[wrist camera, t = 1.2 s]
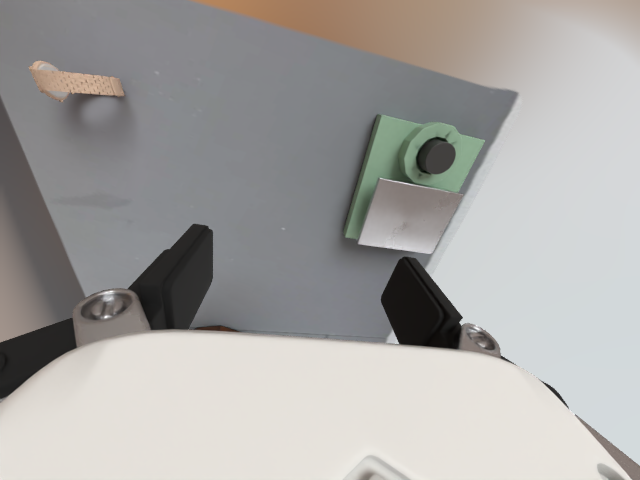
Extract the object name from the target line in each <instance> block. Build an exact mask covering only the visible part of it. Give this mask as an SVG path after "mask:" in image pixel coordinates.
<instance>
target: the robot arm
mask: <svg viewBox="0 0 640 480" xmlns="http://www.w3.org/2000/svg"><path fill="white" fill-rule="evenodd" d="M212 279H213V231H212V230H211V229H209V228H208V226H206V225H199V224H193V225H192V226H191V227H190V228H189V229H188V230H187V231H186V232H185V233H184V234H183V235H182V237H181V238H180V239H179V240H178V241H177V242H176V243H175V244H174V245H173V246H172V247H171V248H170V249H167V250H165V251H163V252H162V253H161V254H160V255H159V256H158V257H157V259H156V260H155V261H154V262H153V263H152V264H151V265H150V266H149V267H148V268H147V269H146V270H145V271H144V272H143V273H142V274H141V275H140V276H139V277H138V278H137V280H136V281H135V282H134V283H133V284H132V285H131V286H130V287H129V288H128V289H123V288H117V289H108V290H103V291H100V292H97V293H94V294H92V295H90V296H88V297H86V298H85V299H83V300H82V301H81V302H80V303H78V304H77V306H76V307H75V308H74V310H73V315H72V317H73V318H70V319H67V320H64V321H61V322H58V323H55V324H53V325H50V326H47V327H44V328H41V329H38V330H35V331H32V332H30V333H27V334H24V335H21V336H18V337H15V338H12V339H9V340H7V341H3V342H1V343H0V480H640V466H639V465H638V464H637V463H635V462H634V461H633V460H631V459H630V458H629V457H628V456H626V455H625V454H624V453H623V452H622V451H620V450H619V449H618V448H617V447H615V446H614V445H613V444H612V443H610V442H609V441H608V440H607V439H605V438H604V437H603V436H602V435H600V434H599V433H598V432H597V431H596V430H594V429H593V428H592V427H591V426H589V425H588V424H587V423H586V422H584V421H583V420H582V419H581V418H579V417H578V416H577V415H574V414H573V413H572V412H571V411H570V410H569V408H568V406H567V404H566V403H565V401H564V400H563V399H562V397H561V396H560V394H559V393H558V392H557V391H556V390H555V389H554V388H552V387H551V386H550V385H548V384H546V383H544V382H542V381H541V380H539V379H538V378H537V377H535V376H534V375H532V374H531V373H529V372H528V371H526V370H524V369H522V368H520V367H518V366H517V365H515V364H514V363H512V362H511V361H509V360H507V359H506V358H504V357H503V356H501V354H500V347H499V345H498V343H497V342H496V340H495V339H494V338H493V337H492V336H491V335H490V334H489V333H487V332H486V331H485V330H483V329H482V328H480V327H478V326H476V325H473V324H470V323H465V324H463V325H462V326H461V325H460V323H459V322H460V320H461V319H462V318H463V317H462V316H461V315H460V313H459V312H458V311H457V310H456V308H455V307H454V306H453V305H452V303H451V302H450V301H449V300H448V298H447V297H446V296H445V295H444V293H443V292H442V291H441V289H440V288H439V287H438V286H437V285H436V283H435V282H434V281H433V279H432V278H431V277H430V276H429V274H428V273H427V272H426V271H425V269H424V268H423V267H422V266H421V264H420V263H419V262H418V260H417V259H416V258H411V257H403V258H402V259H400V260H399V261H398V263H397V265H396V267H395V269H394V271H393V273H392V275H391V277H390V279H389V281H388V284H387V286H386V288H385V290H384V292H383V294H382V296H381V303H382V305H383V307H384V310H385V312H386V314H387V317H388V319H389V321H390V324H391V326H392V328H393V330H394V333H395V335H396V337H397V340H398V342H399V344H390V343H378V342H365V341H352V340H339V339H326V338H312V337H299V336H284V335H270V334H256V333H242V332H225V331H208V330H188V329H189V327H190V325H191V323H192V321H193V319H194V317H195V315H196V313H197V311H198V309H199V307H200V305H201V303H202V301H203V299H204V297H205V295H206V293H207V291H208V289H209V287H210V285H211V282H212Z"/></svg>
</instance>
